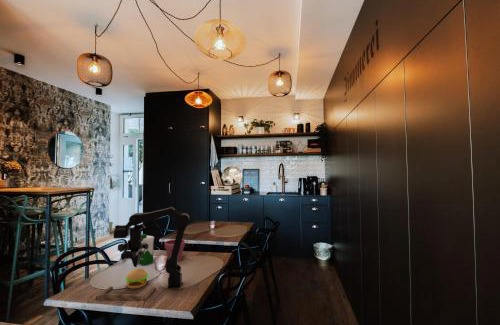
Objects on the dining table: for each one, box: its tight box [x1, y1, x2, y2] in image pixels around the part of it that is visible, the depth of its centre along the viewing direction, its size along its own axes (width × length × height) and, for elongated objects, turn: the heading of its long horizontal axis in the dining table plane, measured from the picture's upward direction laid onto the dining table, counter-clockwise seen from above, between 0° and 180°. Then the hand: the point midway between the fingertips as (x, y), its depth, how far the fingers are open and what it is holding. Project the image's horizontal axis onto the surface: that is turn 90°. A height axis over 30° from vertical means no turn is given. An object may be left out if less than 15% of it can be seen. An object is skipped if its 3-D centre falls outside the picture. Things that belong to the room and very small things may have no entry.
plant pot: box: [164, 239, 186, 261], centre depth 184 cm, size 14×14×13 cm
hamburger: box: [124, 268, 150, 290], centre depth 141 cm, size 12×12×9 cm
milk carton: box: [138, 233, 155, 267], centre depth 176 cm, size 9×9×20 cm
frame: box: [95, 286, 157, 302], centre depth 130 cm, size 26×11×2 cm, turn 85°
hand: (135, 266), depth 136 cm, fingers closed
